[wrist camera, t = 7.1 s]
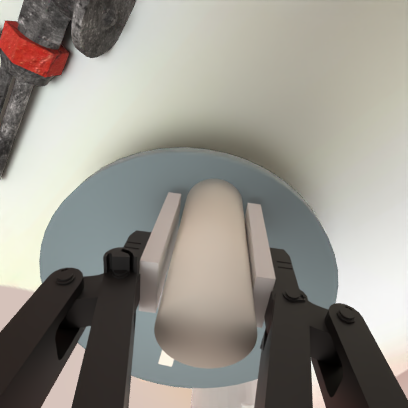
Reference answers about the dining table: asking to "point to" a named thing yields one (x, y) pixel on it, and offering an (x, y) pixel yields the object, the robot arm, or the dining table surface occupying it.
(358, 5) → the dining table surface
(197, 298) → the handwheel
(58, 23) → the dark grey forked tool
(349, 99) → the dining table surface
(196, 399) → the mug
